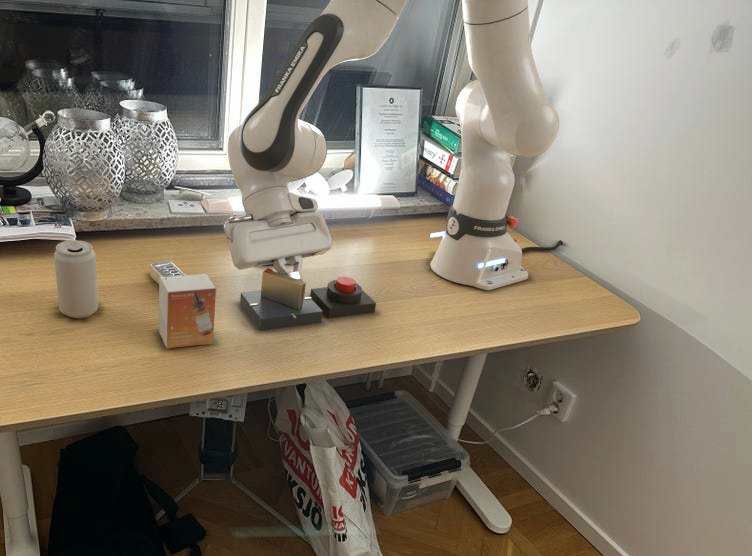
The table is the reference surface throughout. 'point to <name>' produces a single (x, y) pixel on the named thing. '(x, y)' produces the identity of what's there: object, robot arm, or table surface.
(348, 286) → the button
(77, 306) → the beverage can
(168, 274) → the multiport hub
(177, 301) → the small box
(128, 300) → the table surface
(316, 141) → the robot arm
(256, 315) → the dial panel
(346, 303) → the button box
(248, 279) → the table surface
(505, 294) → the table surface
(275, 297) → the pointer
